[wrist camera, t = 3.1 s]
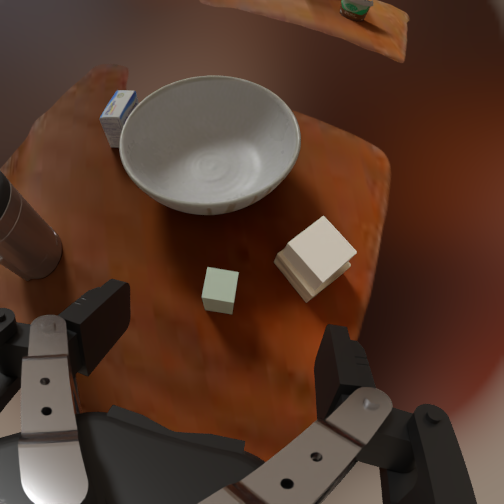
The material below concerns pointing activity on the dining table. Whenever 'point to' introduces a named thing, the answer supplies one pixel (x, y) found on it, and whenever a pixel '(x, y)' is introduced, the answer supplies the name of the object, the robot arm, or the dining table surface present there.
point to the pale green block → (219, 290)
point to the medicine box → (117, 114)
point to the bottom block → (299, 281)
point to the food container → (355, 9)
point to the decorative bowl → (209, 144)
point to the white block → (318, 252)
